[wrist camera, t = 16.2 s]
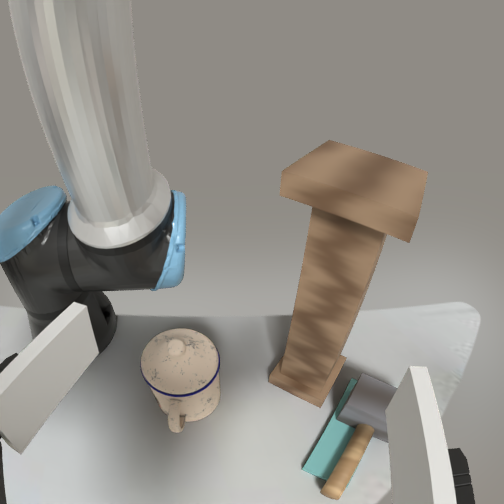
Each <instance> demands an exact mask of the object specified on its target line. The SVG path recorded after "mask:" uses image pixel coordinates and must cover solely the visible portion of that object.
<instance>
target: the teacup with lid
mask: <svg viewBox="0 0 504 504" xmlns="http://www.w3.org/2000/svg"><path fill="white" fill-rule="evenodd" d="M140 367H141V372H142V375H143V377H144V379H145V381H146V382H147V383H148V385H149V386H150V388H151V390H152V392H153V394H154V396H155V398H156V400H157V403H158V405H159V406H160V408H161V409H162V410H163V412H164V413H165V414H167V415H168V425H169V428H170V430H171V431H172V432H175V433H180V432H182V430H183V429H184V426H185V422H191V421H197V420H200V419H203V418H205V417H207V416H208V415H209V414H211V413H212V412H213V411H214V410H215V408H216V407H217V405H218V403H219V400H220V382H219V367H220V357H219V353H218V351H217V348H216V347H215V345H214V344H213V343H212V341H211V340H210V339H209V338H207V337H206V336H205V335H203V334H201V333H199V332H197V331H195V330H191V329H185V328H177V329H171V330H167V331H164V332H162V333H160V334H158V335H156V336H155V337H154V338H152V339H151V340H150V341H149V342H148V344H147V345H146V346H145V348H144V350H143V352H142V356H141V361H140Z"/></svg>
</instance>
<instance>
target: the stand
mask: <svg viewBox="0 0 504 504" xmlns="http://www.w3.org/2000/svg"><path fill="white" fill-rule="evenodd" d="M427 174H428V172H426V171H424V170H421V169H418V168H416V167H413V166H410V165H407V164H405V163H402V162H399V161H396V160H392V159H390V158H387V157H384V156H381V155H378V154H375V153H372V152H368V151H365V150H362V149H359V148H355V147H352V146H348V145H345V144H341V143H338V142H334V141H330V140H329V141H327V142H326V143H324V144H322V145H321V146H319V147H318V148H316V149H315V150H313V151H311V152H310V153H309V154H307V155H306V156H304V157H302V158H301V159H299V160H298V161H296V162H295V163H293V164H292V165H290V166H289V167H287V168H286V169H284V170H283V171H282V176H281V187H280V196H283V197H286V198H289V199H292V200H295V201H298V202H301V203H304V204H307V205H309V206H312V213H311V219H310V225H309V231H308V236H307V242H306V248H305V253H304V259H303V264H302V270H301V275H300V281H299V285H298V291H297V296H296V301H295V306H294V311H293V316H292V320H291V325H290V330H289V335H288V339H287V344H286V349H285V353H284V355H283V357H282V358H281V360H280V361H279V362H278V364H277V365H276V367H275V368H274V370H273V371H272V372H271V374H270V376H269V382H270V383H272V384H273V385H275V386H277V387H279V388H281V389H283V390H285V391H287V392H289V393H291V394H293V395H295V396H297V397H299V398H301V399H303V400H305V401H307V402H309V403H311V404H313V405H316V406H318V407H320V408H321V406H322V404H323V402H324V400H325V399H326V397H327V395H328V393H329V391H330V389H331V387H332V386H333V384H334V382H335V380H336V378H337V376H338V374H339V372H340V370H341V368H342V366H343V364H344V362H345V360H346V357H344V356H342V355H340V354H341V352H342V350H343V348H344V345H345V343H346V341H347V338H348V336H349V334H350V331H351V329H352V327H353V324H354V322H355V320H356V317H357V315H358V312H359V310H360V307H361V305H362V302H363V300H364V297H365V294H366V292H367V289H368V287H369V284H370V281H371V279H372V276H373V273H374V271H375V268H376V265H377V262H378V259H379V256H380V253H381V251H382V248H383V245H384V242H385V238H386V236H387V234H388V235H391V236H393V237H396V238H398V239H401V240H403V241H406V242H408V243H409V242H410V240H411V237H412V234H413V231H414V229H415V226H416V223H417V220H418V217H419V212H420V208H421V204H422V199H423V194H424V190H425V184H426V179H427Z"/></svg>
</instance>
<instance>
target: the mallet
mask: <svg viewBox="0 0 504 504" xmlns="http://www.w3.org/2000/svg"><path fill="white" fill-rule="evenodd" d="M397 389H398V388H395V387H393V386H391V385H389V384H386V383H384V382H382V381H380V380H377V379H375V378H373V377H371V376H369V375H366V374H364V373H362V374H361V376H360V377H359V379H358V381H357V382H356V384H355V386H354V387H353V389H352V390H351V392H350V394H349V396H348V398H347V400H346V402H345V404H344V406H343V408H342V409H341V411H340V413H339V415H338V417H337V419H336V420H338V421H340V422H342V423H344V424H346V425H348V426H351V427H353V428H355V431H354V433H353V435H352V437H351V439H350V441H349V443H348V444H347V446H346V448H345V450H344V452H343V454H342V456H341V457H340V459H339V461H338V463H337V464H336V466H335V468H334V470H333V471H332V473H331V475H330V477H329V478H328V480H327V482H326V483H325V485H324V486H323V488H322V490H321V491H320V493H321V494H323V495H324V496H326V497H329V498H331V499H336V500H338V499H339V498H340V497H341V495H342V493H343V491H344V490H345V488H346V486H347V484H348V483H349V481H350V479H351V477H352V475H353V473H354V472H355V470H356V468H357V466H358V464H359V462H360V460H361V458H362V456H363V454H364V452H365V450H366V448H367V446H368V444H369V442H370V440H371V437H372V436H373V437H375V438H378V439H380V440H382V441H385V442H387V443H389V442H388V432H387V422H386V413H385V410H386V409H387V407H388V405H389V403H390V402H391V400H392V398H393V396H394V394H395V393H396V391H397Z"/></svg>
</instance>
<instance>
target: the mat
mask: <svg viewBox="0 0 504 504" xmlns="http://www.w3.org/2000/svg"><path fill="white" fill-rule="evenodd" d="M357 381H358V380H355V379H353V378H352V379H351V380H350V382H349V384H348V386H347V388H346V390H345V393H344V395H343V397H342V399H341V400H340V402H339V404H338V406H337V408H336V410H335V412H334V414H333V416H332V418H331V420H330V422H329V423H328V425H327V427H326V429H325V431H324V433H323V434H322V436H321V438H320V440H319V441H318V443H317V445H316V447H315V448H314V450H313V452H312V453H311V455H310V457H309V459H308V460H307V462H306V463H305V465H304V467H303V468H302V470H304V471H306V472H308V473H310V474H313V475H315V476H317V477H319V478H321V479H324V480H326V481H327V480H328V478H329V477H330V475H331V473H332V471H333V470H334V468H335V466H336V464H337V463H338V461H339V459H340V457H341V456H342V454H343V452H344V450H345V448H346V446H347V444H348V443H349V441H350V439H351V437H352V435H353V433H354V431H355V428H353V427H351V426H348V425H346V424H344V423H342V422H340V421H338V420H336V419H337V417H338V415H339V413H340V411H341V409H342V408H343V406H344V404H345V402H346V400H347V398H348V396H349V394H350V392H351V390H352V389H353V387H354V386H355V384H356V382H357ZM357 467H358V466H357ZM356 469H357V468H356ZM355 471H356V470H355ZM354 473H355V472H354ZM354 473H353V475H354ZM353 475H352V476H353ZM351 478H352V477H351ZM350 480H351V479H350ZM349 482H350V481H349ZM348 484H349V483H348ZM348 484H347V486H348ZM347 486H346V487H347Z"/></svg>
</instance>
